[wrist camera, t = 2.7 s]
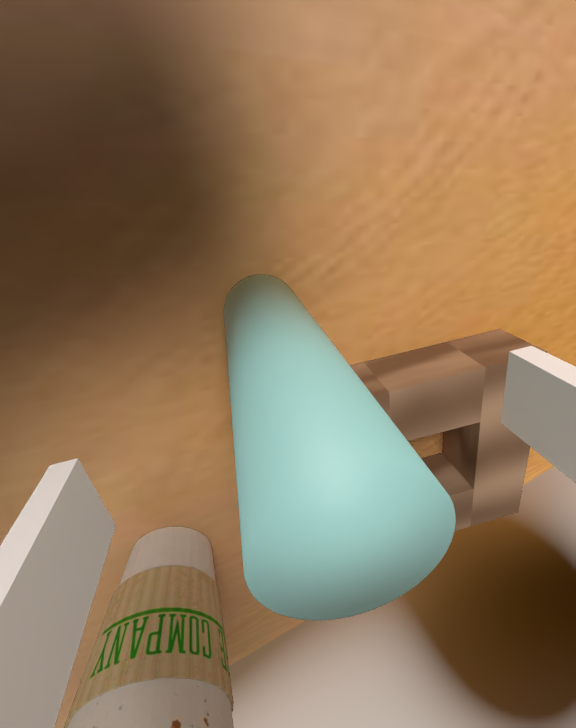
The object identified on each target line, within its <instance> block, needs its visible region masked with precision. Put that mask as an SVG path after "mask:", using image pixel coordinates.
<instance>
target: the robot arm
mask: <svg viewBox="0 0 576 728" xmlns="http://www.w3.org/2000/svg"><path fill="white" fill-rule="evenodd" d="M501 423H502V424H503V425H504V426H505V427H507V428H508V429H509V430H510V431H512V432H513V433H514V434H515V435H516V436H518V437H519V438H520V439H521V440H523V441H524V442H525V443H526V444H528V445H529V446H530V447H531V448H533V449H534V450H535V451H536V452H538V453H539V454H540V455H541V456H543V457H544V458H545V459H546V460H548V461H549V462H550V463H551V464H552V465H554V466H555V467H556V468H557V469H559V470H560V471H561V472H562V473H564V474H565V475H566V476H567V477H569V478H570V479H571V480H572V481H574V482H575V483H576V367H575V366H573V365H571V364H569V363H567V362H565V361H562V360H560V359H558V358H556V357H554V356H552V355H550V354H548V353H546V352H544V351H542V350H540V349H538V348H535V347H533V346H529V347H525V348H521V349H517V350H513V351H509V358H508V366H507V375H506V383H505V392H504V400H503V409H502V417H501ZM115 527H116V524H115V523H114V521H113V519H112V517H111V515H110V514H109V512H108V510H107V508H106V507H105V505H104V503H103V501H102V500H101V498H100V496H99V494H98V493H97V491H96V489H95V487H94V486H93V484H92V482H91V480H90V478H89V477H88V475H87V473H86V471H85V470H84V468H83V466H82V464H81V463H80V461H79V459H78V458H77V459H73V460H69V461H65V462H61V463H57V464H53V465H50V466H49V468H48V469H47V471H46V472H45V474H44V476H43V477H42V479H41V481H40V482H39V484H38V485H37V487H36V489H35V490H34V492H33V494H32V495H31V497H30V498H29V500H28V502H27V503H26V505H25V507H24V508H23V510H22V511H21V513H20V515H19V516H18V518H17V520H16V521H15V523H14V524H13V526H12V528H11V529H10V531H9V533H8V534H7V536H6V537H5V539H4V541H3V542H2V544H1V546H0V728H54V727H55V724H56V720H57V717H58V714H59V711H60V707H61V704H62V701H63V697H64V694H65V691H66V688H67V684H68V681H69V678H70V674H71V671H72V668H73V665H74V661H75V658H76V655H77V651H78V648H79V645H80V642H81V638H82V635H83V632H84V628H85V625H86V622H87V619H88V615H89V612H90V609H91V605H92V602H93V599H94V596H95V592H96V589H97V586H98V582H99V579H100V576H101V573H102V569H103V566H104V563H105V559H106V556H107V553H108V550H109V546H110V543H111V540H112V536H113V533H114V530H115Z"/></svg>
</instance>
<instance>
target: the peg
mask: <svg viewBox="0 0 576 728" xmlns="http://www.w3.org/2000/svg"><path fill="white" fill-rule="evenodd" d="M224 322H225V335H226V348H227V361H228V374H229V388H230V401H231V414H232V427H233V440H234V453H235V466H236V479H237V492H238V505H239V518H240V531H241V544H242V557H243V570H244V577H245V581H246V584H247V586H248V588H249V590H250V592H251V593H252V595H253V596H254V597H255V599H256V600H257V601H259V602H260V603H261V604H262V605H263V606H265V607H266V608H268V609H270V610H271V611H273V612H276V613H278V614H280V615H283V616H287V617H290V618H296V619H301V620H332V619H339V618H344V617H350V616H354V615H358V614H361V613H364V612H367V611H370V610H373V609H375V608H378V607H380V606H382V605H385V604H387V603H389V602H391V601H393V600H395V599H396V598H398V597H400V596H401V595H403V594H404V593H406V592H408V591H409V590H410V589H412V588H413V587H414V586H416V585H417V584H418V583H420V582H421V581H422V580H423V579H424V578H425V577H426V576H427V575H428V574H429V573H430V572H431V571H432V570H433V569H434V568H435V567H436V566H437V564H438V563H439V562H440V561H441V559H442V557H443V556H444V554H445V553H446V551H447V549H448V547H449V545H450V543H451V541H452V537H453V534H454V530H455V524H456V517H455V509H454V505H453V503H452V500H451V498H450V496H449V495H448V493H447V492H446V491H445V489H444V488H443V487H442V485H441V484H440V483H439V481H438V480H437V479H436V477H435V476H434V475H433V473H432V472H431V471H430V470H429V468H428V467H427V466H426V464H425V463H424V462H423V460H422V459H421V458H420V457H419V455H418V454H417V453H416V451H415V450H414V449H413V447H412V446H411V445H410V444H409V442H408V441H407V440H406V438H405V437H404V436H403V434H402V433H401V432H400V430H399V429H398V428H397V427H396V425H395V424H394V423H393V421H392V420H391V419H390V417H389V416H388V415H387V414H386V412H385V411H384V410H383V408H382V407H381V406H380V404H379V403H378V402H377V401H376V399H375V398H374V397H373V395H372V394H371V393H370V391H369V390H368V389H367V388H366V386H365V385H364V384H363V382H362V381H361V380H360V378H359V377H358V376H357V374H356V373H355V372H354V371H353V369H352V368H351V367H350V365H349V364H348V363H347V361H346V360H345V359H344V358H343V356H342V355H341V354H340V352H339V351H338V350H337V348H336V347H335V346H334V345H333V343H332V342H331V341H330V339H329V338H328V337H327V335H326V334H325V333H324V332H323V330H322V329H321V328H320V326H319V325H318V324H317V322H316V321H315V320H314V318H313V317H312V316H311V315H310V313H309V312H308V311H307V309H306V308H305V307H304V305H303V304H302V303H301V302H300V300H299V299H298V298H297V296H296V295H295V294H294V292H293V291H292V290H291V289H290V287H289V286H288V285H287V284H286V283H285V282H283V281H282V280H280V279H278V278H276V277H274V276H270V275H253V276H249V277H247V278H244V279H243V280H241V281H239V282H238V283H237V284H236V285H235V286H234V287H233V288H232V289H231V290H230V292H229V294H228V295H227V298H226V300H225V304H224Z"/></svg>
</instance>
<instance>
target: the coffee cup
mask: <svg viewBox="0 0 576 728" xmlns="http://www.w3.org/2000/svg"><path fill="white" fill-rule="evenodd" d="M232 711H233V696H232V689H231V681H230V673H229V665H228V658H227V650H226V642H225V635H224V627H223V619H222V612H221V604H220V596H219V590H218V587H217V584H216V579H215V571H214V563H213V554H212V547H211V544H210V542H209V540H208V539H207V538H206V537H205V536H204V535H203V534H202V533H200V532H198V531H196V530H193V529H191V528H186V527H165V528H160V529H157V530H154V531H152V532H149V533H148V534H146V535H144V536H143V537H142V538H140V539H139V540H138V541H137V542H136V544H135V545H134V547H133V549H132V551H131V554H130V557H129V559H128V562H127V565H126V568H125V570H124V573H123V576H122V579H121V581H120V584H119V587H118V588H117V589H116V591H115V593H114V595H113V597H112V599H111V602H110V605H109V607H108V610H107V613H106V616H105V618H104V621H103V624H102V626H101V629H100V632H99V634H98V637H97V640H96V642H95V645H94V648H93V650H92V653H91V656H90V658H89V661H88V664H87V667H86V669H85V672H84V675H83V677H82V680H81V683H80V685H79V688H78V691H77V693H76V696H75V699H74V701H73V704H72V707H71V709H70V712H69V715H68V717H67V720H66V723H65V726H64V728H234V727H233V719H232Z"/></svg>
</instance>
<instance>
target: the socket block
mask: <svg viewBox="0 0 576 728" xmlns="http://www.w3.org/2000/svg"><path fill="white" fill-rule="evenodd" d="M529 346H533V347H535V348H538V347H536V346H534V345H532V344H530V343H528V342H526V341H524V340H522V339H520V338H518V337H516V336H514V335H512V334H510V333H508V332H506V331H504V330H501V329H498V330H494V331H490V332H486V333H482V334H477V335H473V336H469V337H465V338H461V339H457V340H453V341H449V342H445V343H441V344H436V345H432V346H428V347H424V348H420V349H416V350H412V351H408V352H404V353H399V354H395V355H391V356H387V357H383V358H379V359H375V360H371V361H367V362H362V363H358V364H354V365H350V367H351V368H352V369H353V371H354V372H355V373H356V374H357V376H358V377H359V378H360V380H361V381H362V382H363V384H364V385H365V386H366V388H367V389H368V390H369V391H370V393H371V394H372V395H373V397H374V398H375V399H376V401H377V402H378V403H379V404H380V406H381V407H382V408H383V410H384V411H385V412H386V414H387V415H388V416H389V417H390V419H391V420H392V421H393V423H394V424H395V425H396V427H397V428H398V429H399V430H400V432H401V433H402V434H403V436H404V437H405V438H406V440H407V441H411V440H415V439H418V438H422V437H426V436H430V435H433V434H437V433H441V432H443V453H440V454H436V455H432V456H429V457H425V458H421V459H422V460H423V462H424V463H425V464H426V466H427V467H428V468H429V470H430V471H431V472H432V473H433V475H434V476H435V477H436V479H437V480H438V481H439V483H440V484H441V485H442V487H443V488H444V489H445V491H446V492H447V493H448V495H449V496H450V498H451V500H452V503H453V505H454V509H455V517H456V524H455V530H454V531H456V530H459V529H463V528H466V527H470V526H473V525H476V524H480V523H483V522H487V521H490V520H493V519H497V518H500V517H504V516H507V515H510V514H514V513H517V512H518V510H519V505H520V499H521V494H522V488H523V483H524V478H525V472H526V467H527V461H528V456H529V450H530V446H529V445H528V444H526V443H525V442H524V441H523V440H521V439H520V438H519V437H518V436H516V435H515V434H514V433H513V432H512V431H510V430H509V429H508V428H507V427H505V426H504V425H503V424H502V423H501V417H502V409H503V400H504V392H505V383H506V375H507V366H508V358H509V351H513V350H517V349H521V348H525V347H529ZM538 349H540V348H538ZM540 350H542V349H540ZM542 351H544V350H542ZM544 352H546V353H547V351H544Z"/></svg>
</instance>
